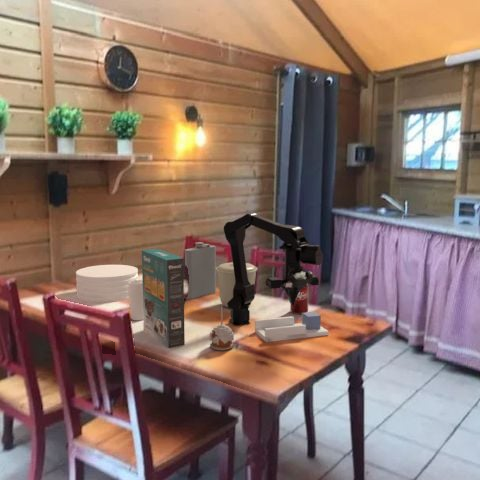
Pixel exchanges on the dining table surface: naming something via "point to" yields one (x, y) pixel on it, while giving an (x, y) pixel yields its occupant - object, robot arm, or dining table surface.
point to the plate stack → (105, 282)
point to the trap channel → (284, 329)
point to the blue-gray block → (311, 320)
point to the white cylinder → (136, 299)
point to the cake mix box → (163, 296)
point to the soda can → (301, 302)
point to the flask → (201, 270)
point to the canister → (231, 280)
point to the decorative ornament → (221, 336)
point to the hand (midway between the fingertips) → (292, 304)
